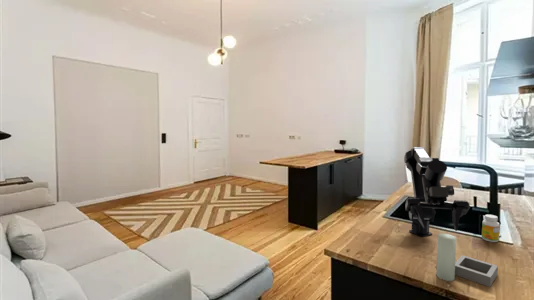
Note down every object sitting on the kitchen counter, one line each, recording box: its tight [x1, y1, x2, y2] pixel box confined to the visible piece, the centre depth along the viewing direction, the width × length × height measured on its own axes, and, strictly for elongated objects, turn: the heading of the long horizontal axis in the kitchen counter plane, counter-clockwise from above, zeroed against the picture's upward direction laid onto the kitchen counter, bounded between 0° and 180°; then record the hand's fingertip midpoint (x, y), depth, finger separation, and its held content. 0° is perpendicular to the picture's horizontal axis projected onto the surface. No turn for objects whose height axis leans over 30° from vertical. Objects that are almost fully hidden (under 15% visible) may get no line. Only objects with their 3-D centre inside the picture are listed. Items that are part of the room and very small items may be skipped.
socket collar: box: [455, 254, 499, 288], centre depth 86 cm, size 9×9×3 cm
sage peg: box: [435, 233, 457, 282], centre depth 84 cm, size 5×5×13 cm
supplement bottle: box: [481, 214, 501, 243], centre depth 109 cm, size 5×5×10 cm
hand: (440, 229), depth 90 cm, fingers open, 9 cm apart
